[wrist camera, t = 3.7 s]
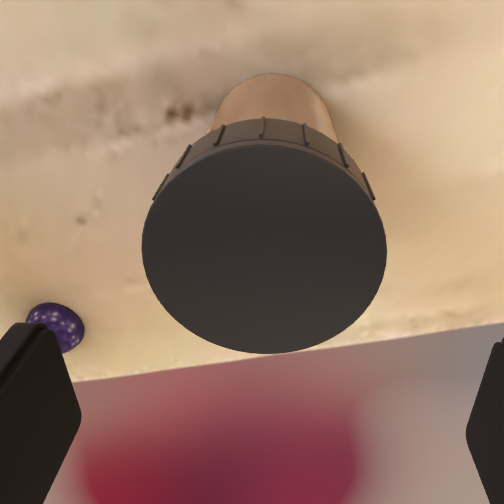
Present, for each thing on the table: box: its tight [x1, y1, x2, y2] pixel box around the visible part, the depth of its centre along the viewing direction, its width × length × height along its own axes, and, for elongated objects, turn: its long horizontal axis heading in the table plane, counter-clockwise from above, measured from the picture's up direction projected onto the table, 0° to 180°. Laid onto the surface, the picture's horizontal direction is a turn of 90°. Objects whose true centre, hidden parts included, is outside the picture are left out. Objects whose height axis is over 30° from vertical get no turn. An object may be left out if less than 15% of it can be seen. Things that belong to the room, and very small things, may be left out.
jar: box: [205, 74, 339, 144], centre depth 20 cm, size 7×7×13 cm
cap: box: [142, 116, 387, 354], centre depth 15 cm, size 8×8×3 cm
